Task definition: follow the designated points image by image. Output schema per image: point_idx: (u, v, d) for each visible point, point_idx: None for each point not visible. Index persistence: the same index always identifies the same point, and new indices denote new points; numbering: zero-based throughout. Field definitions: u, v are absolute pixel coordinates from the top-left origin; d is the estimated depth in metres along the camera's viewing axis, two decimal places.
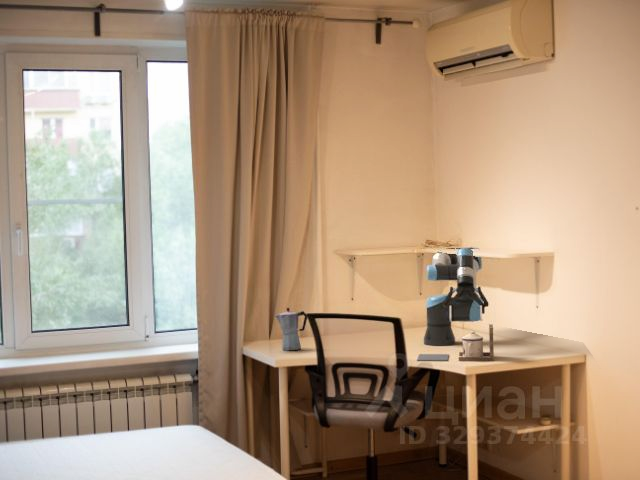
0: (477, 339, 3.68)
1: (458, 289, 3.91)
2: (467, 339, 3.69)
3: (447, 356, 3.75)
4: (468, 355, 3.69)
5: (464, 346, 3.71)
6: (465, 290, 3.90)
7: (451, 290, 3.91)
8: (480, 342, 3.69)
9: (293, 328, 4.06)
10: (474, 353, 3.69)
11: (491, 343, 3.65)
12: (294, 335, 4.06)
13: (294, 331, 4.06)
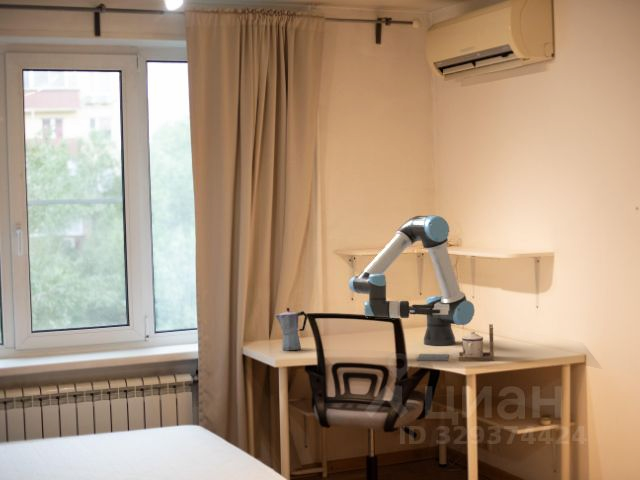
0: (477, 339, 3.68)
1: None
2: (467, 339, 3.69)
3: (447, 356, 3.75)
4: (468, 355, 3.69)
5: (464, 346, 3.71)
6: None
7: None
8: (480, 342, 3.69)
9: (293, 328, 4.06)
10: (474, 353, 3.69)
11: (491, 343, 3.65)
12: (294, 335, 4.06)
13: (294, 331, 4.06)
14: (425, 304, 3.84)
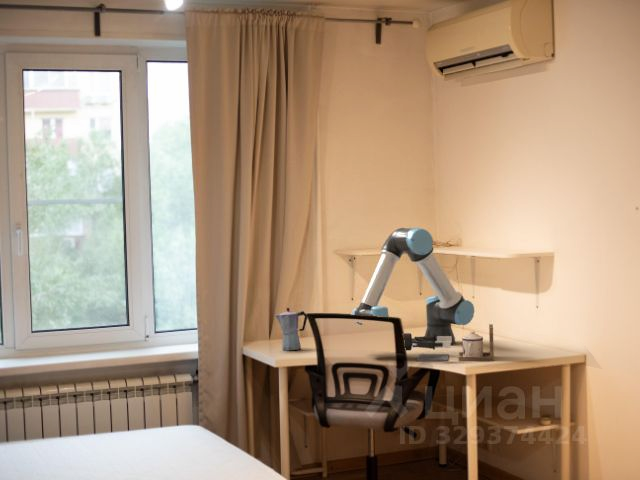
0: (477, 339, 3.68)
1: None
2: (467, 339, 3.69)
3: (447, 356, 3.75)
4: (468, 355, 3.69)
5: (464, 346, 3.71)
6: None
7: None
8: (480, 342, 3.69)
9: (293, 328, 4.06)
10: (474, 353, 3.69)
11: (491, 343, 3.65)
12: (294, 335, 4.06)
13: (294, 331, 4.06)
14: (428, 336, 3.84)
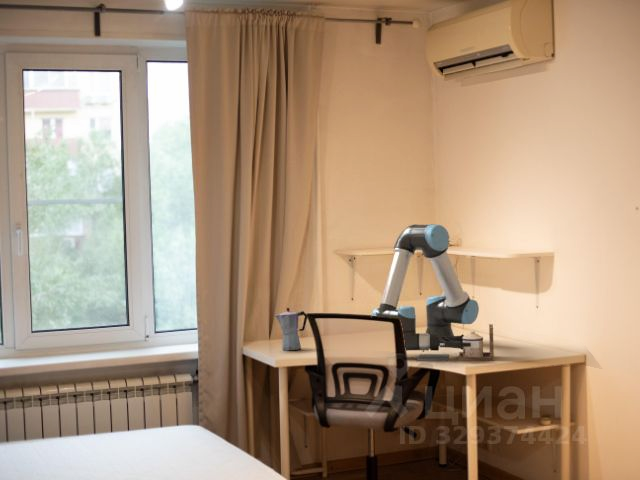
0: (477, 339, 3.68)
1: None
2: (467, 339, 3.69)
3: (447, 356, 3.75)
4: (468, 355, 3.69)
5: None
6: None
7: None
8: (480, 342, 3.69)
9: (293, 328, 4.06)
10: (474, 353, 3.69)
11: (491, 343, 3.65)
12: (294, 335, 4.06)
13: (294, 331, 4.06)
14: (454, 336, 3.82)
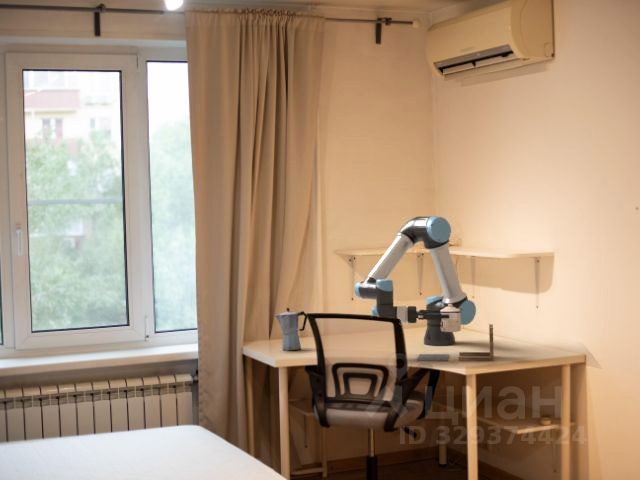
0: (455, 311, 3.70)
1: None
2: (445, 312, 3.71)
3: (447, 356, 3.75)
4: (446, 328, 3.71)
5: None
6: None
7: None
8: (458, 314, 3.71)
9: (293, 328, 4.06)
10: (452, 326, 3.70)
11: (491, 343, 3.65)
12: (294, 335, 4.06)
13: (294, 331, 4.06)
14: None
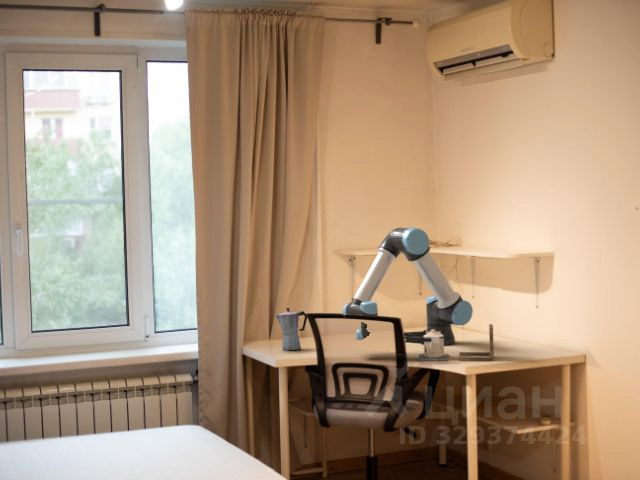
0: None
1: None
2: None
3: (447, 356, 3.75)
4: (430, 353, 3.73)
5: (425, 345, 3.74)
6: None
7: None
8: (441, 340, 3.73)
9: (293, 328, 4.06)
10: (435, 351, 3.72)
11: (491, 343, 3.65)
12: (294, 335, 4.06)
13: (294, 331, 4.06)
14: None
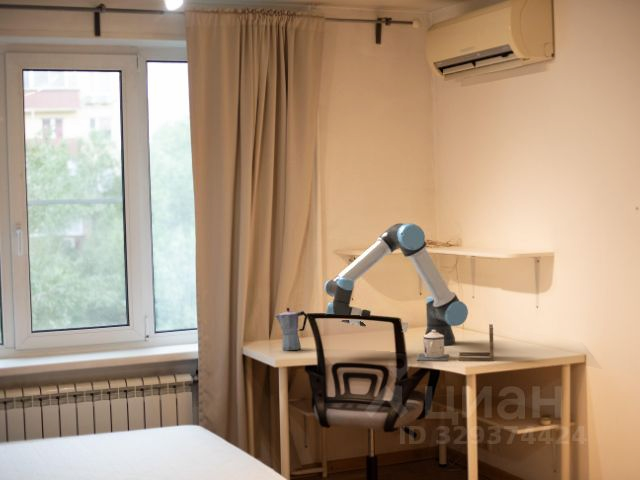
0: (438, 338, 3.72)
1: None
2: (429, 338, 3.73)
3: (447, 356, 3.75)
4: (430, 353, 3.73)
5: (426, 345, 3.74)
6: None
7: None
8: (441, 340, 3.73)
9: (293, 328, 4.06)
10: (435, 352, 3.72)
11: (491, 343, 3.65)
12: (294, 335, 4.06)
13: (294, 331, 4.06)
14: None
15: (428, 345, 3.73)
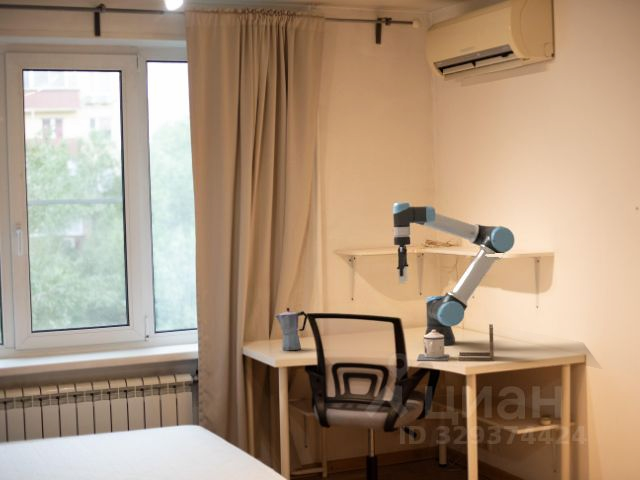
0: (439, 338, 3.72)
1: None
2: (429, 338, 3.73)
3: (447, 356, 3.75)
4: (430, 353, 3.73)
5: (426, 345, 3.74)
6: None
7: None
8: (441, 340, 3.73)
9: (293, 328, 4.06)
10: (435, 352, 3.72)
11: (491, 343, 3.65)
12: (294, 335, 4.06)
13: (294, 331, 4.06)
14: (406, 258, 4.04)
15: (428, 345, 3.73)
